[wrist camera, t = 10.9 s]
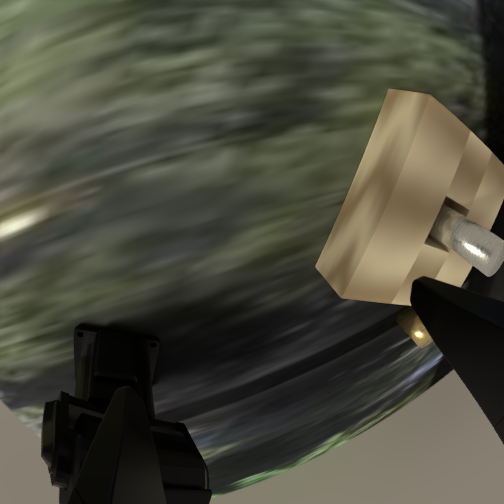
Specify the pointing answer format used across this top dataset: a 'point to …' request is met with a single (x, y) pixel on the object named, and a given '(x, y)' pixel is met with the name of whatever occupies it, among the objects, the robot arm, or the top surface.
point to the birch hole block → (409, 202)
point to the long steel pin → (469, 240)
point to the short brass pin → (413, 326)
